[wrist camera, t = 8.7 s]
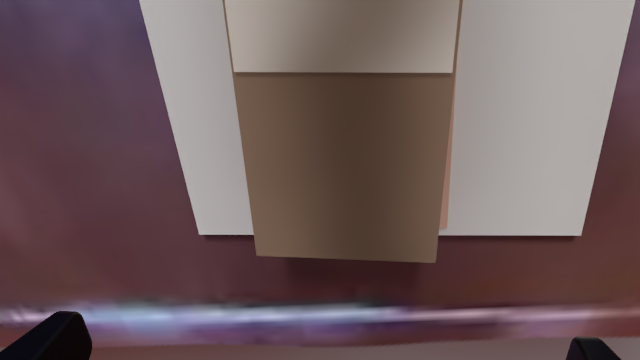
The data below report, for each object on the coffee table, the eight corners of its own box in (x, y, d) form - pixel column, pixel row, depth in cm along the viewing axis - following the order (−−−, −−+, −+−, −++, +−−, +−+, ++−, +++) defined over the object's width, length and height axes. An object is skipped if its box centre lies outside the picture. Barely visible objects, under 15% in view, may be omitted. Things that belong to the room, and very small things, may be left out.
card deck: (272, 204, 21) (255, 258, 18) (245, -43, 16) (218, -16, 14) (429, 208, 20) (435, 265, 18) (452, -47, 16) (465, -19, 13)
